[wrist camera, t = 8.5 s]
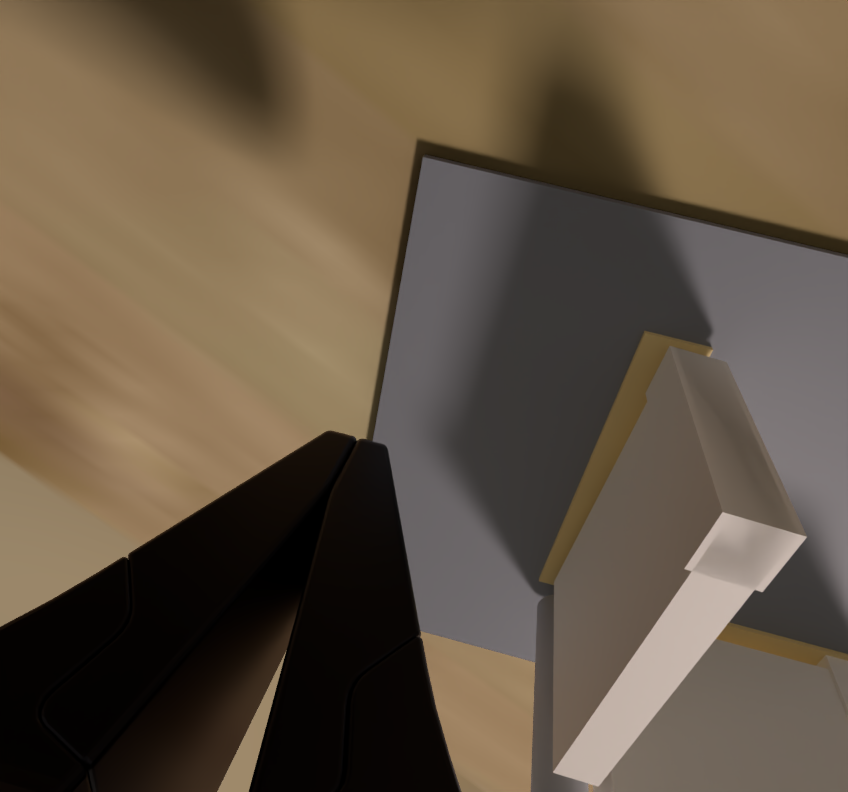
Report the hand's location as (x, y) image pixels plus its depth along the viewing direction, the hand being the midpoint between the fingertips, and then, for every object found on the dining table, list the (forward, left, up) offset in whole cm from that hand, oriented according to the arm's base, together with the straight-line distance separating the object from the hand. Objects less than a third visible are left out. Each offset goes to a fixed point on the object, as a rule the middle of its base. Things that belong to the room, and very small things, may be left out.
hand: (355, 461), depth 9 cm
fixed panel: (-9, +6, -4) cm, 11 cm away
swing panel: (-5, +3, -4) cm, 6 cm away
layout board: (-6, +3, -4) cm, 8 cm away
